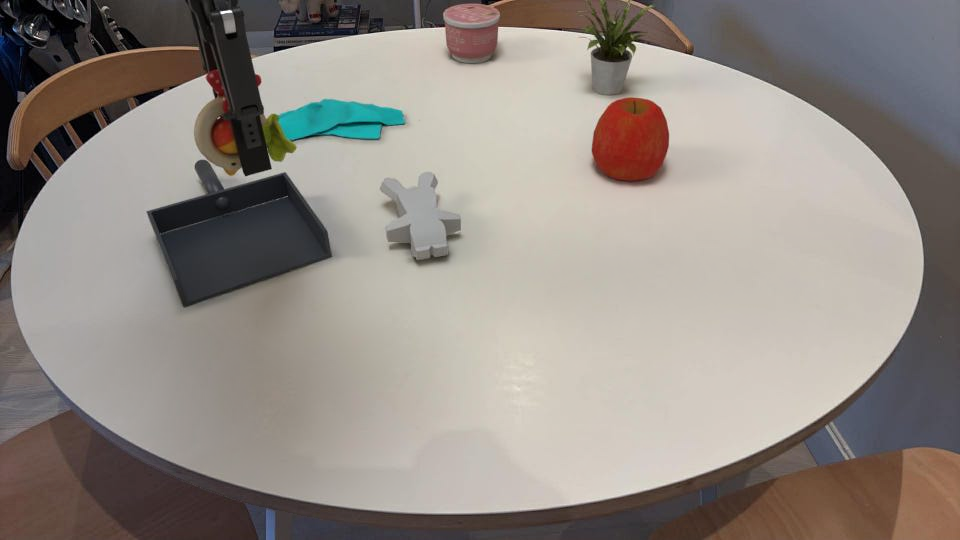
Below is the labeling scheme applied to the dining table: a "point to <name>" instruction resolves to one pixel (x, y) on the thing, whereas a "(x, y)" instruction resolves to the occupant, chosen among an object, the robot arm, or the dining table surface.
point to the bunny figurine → (420, 217)
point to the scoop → (237, 235)
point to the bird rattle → (218, 135)
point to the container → (471, 32)
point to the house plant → (611, 49)
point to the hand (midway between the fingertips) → (249, 157)
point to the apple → (631, 139)
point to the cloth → (338, 119)
